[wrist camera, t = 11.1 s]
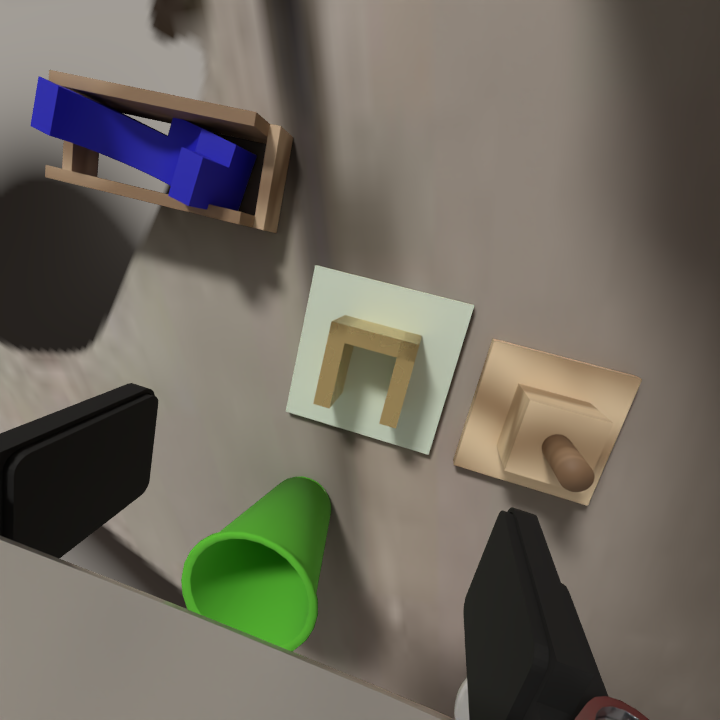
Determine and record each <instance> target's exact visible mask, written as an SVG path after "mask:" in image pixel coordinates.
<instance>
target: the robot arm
mask: <svg viewBox="0 0 720 720" xmlns="http://www.w3.org/2000/svg"><path fill="white" fill-rule="evenodd" d="M157 409H158V399H157V397H156V396H155V395H154V392H153V391H152V390H151V389H148V388H145V387H142V386H139V385H136V384H133V383H130V384H126V385H124V386H121V387H119V388H116V389H114V390H111V391H109V392H106V393H103V394H101V395H98V396H96V397H93V398H91V399H88V400H85V401H83V402H80V403H78V404H75V405H73V406H70V407H67V408H65V409H62V410H60V411H57V412H55V413H52V414H49V415H47V416H44V417H42V418H39V419H37V420H34V421H32V422H29V423H26V424H24V425H21V426H19V427H16V428H14V429H11V430H8V431H6V432H3V433H1V434H0V720H455V719H453V718H451V717H448V716H446V715H444V714H442V713H440V712H437V711H435V710H433V709H431V708H428V707H426V706H423V705H421V704H418V703H416V702H413V701H411V700H408V699H406V698H404V697H401V696H399V695H396V694H394V693H392V692H389V691H387V690H385V689H382V688H380V687H378V686H375V685H373V684H370V683H368V682H366V681H363V680H361V679H358V678H356V677H353V676H351V675H348V674H346V673H343V672H341V671H339V670H336V669H334V668H331V667H329V666H326V665H324V664H321V663H319V662H316V661H314V660H312V659H309V658H307V657H304V656H302V655H299V654H297V653H294V652H292V651H289V650H287V649H284V648H282V647H280V646H277V645H275V644H272V643H270V642H267V641H265V640H262V639H260V638H257V637H255V636H253V635H250V634H248V633H245V632H243V631H240V630H238V629H235V628H233V627H230V626H228V625H225V624H223V623H220V622H218V621H215V620H213V619H210V618H208V617H205V616H203V615H200V614H198V613H195V612H193V611H190V610H188V609H185V608H182V607H180V606H178V605H175V604H173V603H170V602H168V601H165V600H162V599H160V598H157V597H155V596H153V595H150V594H147V593H145V592H142V591H140V590H137V589H135V588H132V587H130V586H127V585H125V584H122V583H119V582H117V581H115V580H112V579H110V578H107V577H105V576H102V575H100V574H97V573H94V572H92V571H89V570H87V569H84V568H82V567H79V566H77V565H74V564H71V563H69V562H66V561H64V560H61V559H59V558H61V557H62V556H63V555H64V554H66V553H67V552H68V551H70V550H71V549H72V548H74V547H75V546H76V545H77V544H79V543H80V542H81V541H83V540H84V539H85V538H86V537H88V536H89V535H90V534H92V533H93V532H94V531H95V530H97V529H98V528H99V527H101V526H102V525H103V524H105V523H106V522H107V521H108V520H110V519H111V518H112V517H114V516H115V515H116V514H118V513H119V512H120V511H121V510H123V509H124V508H125V507H127V506H128V505H129V504H130V503H132V502H133V501H134V500H136V499H137V498H138V497H139V496H141V495H142V494H143V493H144V492H145V490H146V488H147V487H148V484H149V480H150V471H151V462H152V453H153V444H154V436H155V427H156V418H157ZM464 630H465V649H466V667H467V686H468V704H469V720H649V719H648V718H646V717H645V716H644V715H643V714H641V713H640V712H639V711H637V710H636V709H635V708H633V707H631V706H629V705H627V704H626V703H624V702H622V701H620V700H617V699H614V698H611V697H608V694H607V692H606V689H605V686H604V684H603V681H602V678H601V676H600V673H599V670H598V668H597V665H596V662H595V660H594V657H593V654H592V652H591V649H590V646H589V644H588V641H587V639H586V636H585V633H584V631H583V628H582V625H581V623H580V620H579V617H578V615H577V612H576V609H575V607H574V604H573V601H572V599H571V596H570V593H569V591H568V589H567V587H566V586H565V585H564V584H562V583H561V582H560V579H559V576H558V574H557V571H556V568H555V565H554V562H553V560H552V557H551V554H550V551H549V549H548V546H547V543H546V540H545V538H544V535H543V532H542V529H541V526H540V524H539V521H538V518H537V516H536V515H534V514H531V513H528V512H525V511H522V510H519V509H515V508H510V509H509V510H508V512H505V511H501V512H500V513H499V515H498V517H497V520H496V522H495V525H494V527H493V530H492V532H491V535H490V537H489V540H488V542H487V545H486V547H485V550H484V552H483V555H482V558H481V560H480V563H479V565H478V568H477V570H476V573H475V575H474V578H473V580H472V583H471V585H470V588H469V590H468V593H467V595H466V598H465V603H464Z"/></svg>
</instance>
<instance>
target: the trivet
mask: <svg viewBox="0 0 720 720" xmlns="http://www.w3.org/2000/svg"><path fill="white" fill-rule="evenodd" d="M473 308H474V305H472V304H468V303H464V302H460V301H456V300H452V299H448V298H444V297H440V296H436V295H432V294H428V293H424V292H420V291H416V290H412V289H408V288H404V287H401V286H397V285H393V284H389V283H385V282H381V281H377V280H373V279H369V278H365V277H361V276H357V275H353V274H349V273H345V272H341V271H337V270H333V269H329V268H325V267H321V266H315V270H314V275H313V280H312V285H311V290H310V295H309V299H308V304H307V309H306V314H305V319H304V324H303V329H302V334H301V339H300V344H299V349H298V354H297V359H296V364H295V368H294V373H293V378H292V383H291V388H290V393H289V398H288V403H287V408H286V412H289V413H293V414H296V415H299V416H303V417H306V418H309V419H312V420H316V421H319V422H322V423H326V424H329V425H332V426H335V427H339V428H342V429H345V430H348V431H352V432H355V433H358V434H362V435H365V436H368V437H371V438H375V439H378V440H381V441H385V442H388V443H391V444H394V445H398V446H401V447H404V448H408V449H411V450H414V451H417V452H421V453H424V454H427V455H429V452H430V448H431V445H432V442H433V439H434V435H435V432H436V429H437V426H438V422H439V419H440V416H441V412H442V409H443V406H444V403H445V399H446V396H447V393H448V390H449V386H450V383H451V380H452V377H453V373H454V370H455V367H456V364H457V360H458V357H459V354H460V351H461V347H462V344H463V341H464V338H465V334H466V331H467V328H468V325H469V321H470V318H471V315H472V312H473ZM344 315H347V316H351V317H354V318H358V319H362V320H365V321H369V322H373V323H377V324H380V325H384V326H388V327H392V328H395V329H399V330H403V331H407V332H410V333H414V334H418V335H422V338H421V342H420V345H419V349H418V352H417V356H416V359H415V363H414V367H413V370H412V374H411V377H410V381H409V384H408V388H407V391H406V395H405V399H404V402H403V406H402V409H401V413H400V416H399V420H398V423H397V427H396V429H395V428H392V427H389V426H385V425H382V424H379V422H380V418H381V414H382V411H383V407H384V403H385V400H386V396H387V392H388V388H389V385H390V381H391V377H392V373H393V370H394V366H395V362H396V359H397V357H393V356H389V355H386V354H382V353H379V352H375V351H371V350H368V349H364V348H360V347H357V346H354V347H353V351H352V355H351V359H350V363H349V368H348V372H347V376H346V380H345V384H344V389H343V393H342V394H341V395H340V396H339V397H338V399H337V400H336V401H335V402H334V404H333V405H332V406H331V407H330V409H329V408H325V407H322V406H319V405H315V404H313V402H314V398H315V393H316V389H317V384H318V380H319V375H320V371H321V366H322V362H323V357H324V353H325V348H326V344H327V339H328V335H329V330H330V325H331V321H333V320H335V319H337V318H340V317H342V316H344Z"/></svg>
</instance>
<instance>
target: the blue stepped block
mask: <svg viewBox="0 0 720 720" xmlns="http://www.w3.org/2000/svg"><path fill="white" fill-rule="evenodd" d="M31 126H32V127H34V128H36V129H38V130H40V131H42V132H43V133H45V134H47V135H49V136H53V137H56V138H59V139H62V140H65V141H68V142H71V143H74V144H76V145H79V146H82V147H85V148H87V149H90V150H93V151H95V152H98V153H101V154H103V155H105V156H108V157H110V158H113V159H115V160H118V161H120V162H122V163H125V164H127V165H129V166H132V167H134V168H136V169H138V170H140V171H143V172H145V173H147V174H149V175H151V176H153V177H155V178H157V179H159V180H161V181H163V182H165V183H167V184H168V185H170V186H171V187H170V191H169V194H168V196H170V197H172V198H174V199H176V200H178V201H180V202H181V203H183V204H185V205H187V206H191V207H196V208H201V209H206V210H207V208H208V205H209V204H210V205H214V206H218V207H223V208H227V209H231V210H235V211H238V210H239V207H240V204H241V201H242V198H243V195H244V192H245V189H246V186H247V184H248V181H249V178H250V175H251V172H252V169H253V166H254V163H255V160H256V157H257V155H255V154H253V153H251V152H249V151H247V150H245V149H243V148H241V147H239V146H237V145H235V144H233V143H231V142H229V141H227V140H225V139H223V138H221V137H219V136H217V135H215V134H213V133H211V132H209V131H207V130H205V129H203V128H200V127H198V126H196V125H194V124H192V123H190V122H188V121H185V120H183V119H178V118H173V119H172V123H171V127H170V130H169V134H168V136H167V135H165V134H163V133H161V132H159V131H157V130H155V129H153V128H151V127H149V126H147V125H145V124H143V123H141V122H139V121H137V120H135V119H133V118H131V117H129V116H127V115H125V114H123V113H121V112H119V111H117V110H114V109H112V108H110V107H108V106H106V105H103V104H101V103H99V102H96V101H94V100H92V99H90V98H87V97H85V96H83V95H80V94H78V93H76V92H74V91H71V90H69V89H67V88H64V87H62V86H60V85H58V84H55V83H53V82H51V81H49V80H46V79H44V78H42V77H39V78H38V84H37V90H36V96H35V102H34V108H33V114H32V120H31Z"/></svg>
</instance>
